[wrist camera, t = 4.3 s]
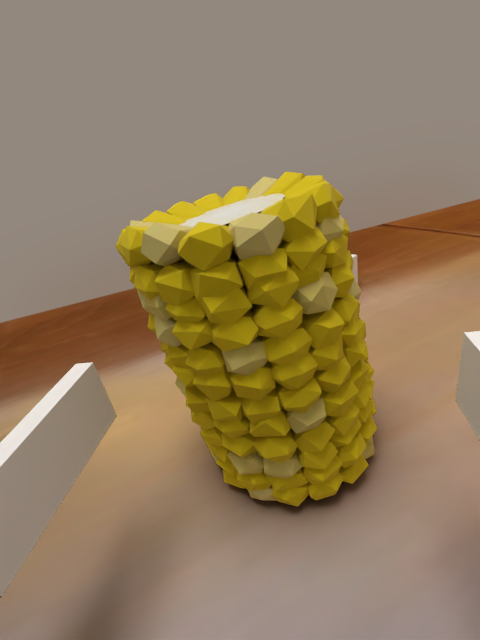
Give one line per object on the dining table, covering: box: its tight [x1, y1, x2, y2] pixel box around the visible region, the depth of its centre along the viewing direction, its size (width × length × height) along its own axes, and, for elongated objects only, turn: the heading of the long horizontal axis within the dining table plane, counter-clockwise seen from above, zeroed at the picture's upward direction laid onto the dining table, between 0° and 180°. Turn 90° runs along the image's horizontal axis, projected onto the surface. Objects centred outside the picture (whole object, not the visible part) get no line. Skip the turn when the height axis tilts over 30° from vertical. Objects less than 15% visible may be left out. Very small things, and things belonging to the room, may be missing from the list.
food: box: [116, 172, 377, 507], centre depth 17 cm, size 15×12×10 cm
